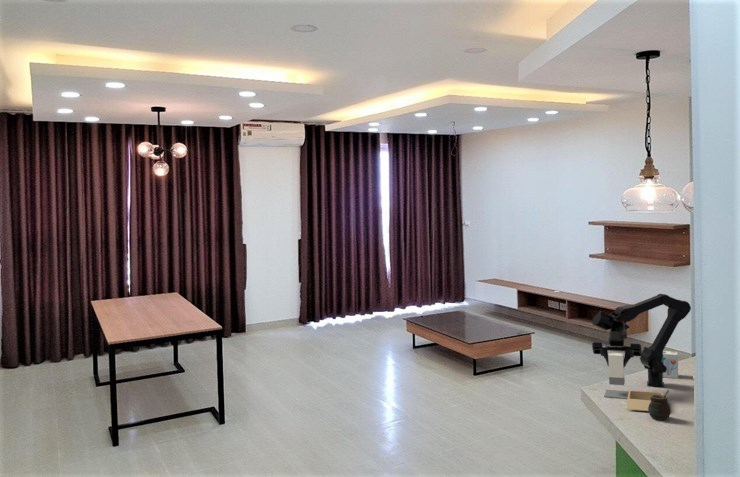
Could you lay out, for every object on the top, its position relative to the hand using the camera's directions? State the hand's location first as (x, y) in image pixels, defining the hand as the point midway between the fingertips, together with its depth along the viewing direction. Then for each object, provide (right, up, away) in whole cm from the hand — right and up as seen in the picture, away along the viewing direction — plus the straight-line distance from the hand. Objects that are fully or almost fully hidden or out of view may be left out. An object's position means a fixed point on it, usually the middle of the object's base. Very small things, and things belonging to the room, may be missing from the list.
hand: (616, 366), depth 248 cm
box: (+1, -7, +1) cm, 7 cm away
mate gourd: (+4, -13, -29) cm, 32 cm away
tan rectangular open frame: (+6, -12, -13) cm, 19 cm away
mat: (+1, -12, +2) cm, 12 cm away
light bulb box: (+33, -10, +27) cm, 44 cm away
